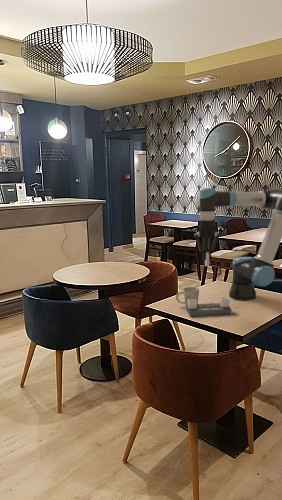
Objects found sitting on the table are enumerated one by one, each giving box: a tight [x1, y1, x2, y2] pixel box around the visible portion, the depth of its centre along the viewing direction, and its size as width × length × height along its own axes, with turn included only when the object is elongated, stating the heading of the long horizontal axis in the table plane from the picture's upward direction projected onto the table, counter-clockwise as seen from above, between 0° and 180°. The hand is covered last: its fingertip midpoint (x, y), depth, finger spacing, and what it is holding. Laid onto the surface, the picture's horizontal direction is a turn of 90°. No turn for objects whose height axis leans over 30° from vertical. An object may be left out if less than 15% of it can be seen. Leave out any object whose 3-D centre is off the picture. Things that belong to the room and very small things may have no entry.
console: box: [186, 302, 232, 318], centre depth 203 cm, size 21×10×3 cm, turn 94°
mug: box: [175, 286, 200, 309], centre depth 212 cm, size 8×13×10 cm, turn 78°
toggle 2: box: [219, 297, 231, 308], centre depth 203 cm, size 4×4×4 cm
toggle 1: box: [188, 299, 197, 309], centre depth 202 cm, size 4×4×4 cm
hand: (207, 265), depth 200 cm, fingers closed
